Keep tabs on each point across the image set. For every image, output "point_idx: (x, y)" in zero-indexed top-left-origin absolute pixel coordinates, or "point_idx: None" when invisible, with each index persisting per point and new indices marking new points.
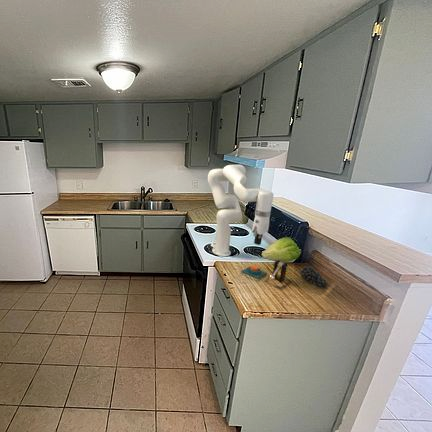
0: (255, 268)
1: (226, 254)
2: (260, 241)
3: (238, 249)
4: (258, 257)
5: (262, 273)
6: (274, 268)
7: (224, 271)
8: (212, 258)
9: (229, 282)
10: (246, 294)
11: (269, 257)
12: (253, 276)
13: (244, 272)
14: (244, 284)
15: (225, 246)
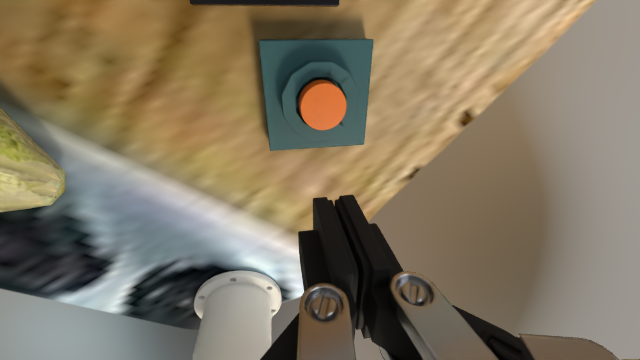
0: (341, 92)
1: (248, 278)
2: (339, 228)
3: (122, 293)
4: (80, 197)
5: (295, 52)
6: None
7: (388, 191)
8: None
9: (465, 123)
10: (527, 6)
11: (30, 143)
12: (370, 70)
13: (365, 126)
14: (441, 69)
15: (248, 321)
